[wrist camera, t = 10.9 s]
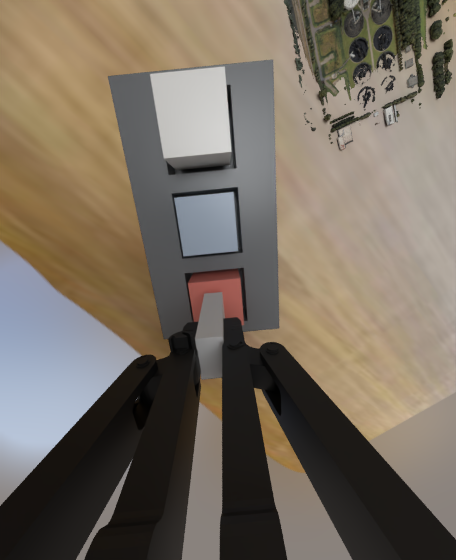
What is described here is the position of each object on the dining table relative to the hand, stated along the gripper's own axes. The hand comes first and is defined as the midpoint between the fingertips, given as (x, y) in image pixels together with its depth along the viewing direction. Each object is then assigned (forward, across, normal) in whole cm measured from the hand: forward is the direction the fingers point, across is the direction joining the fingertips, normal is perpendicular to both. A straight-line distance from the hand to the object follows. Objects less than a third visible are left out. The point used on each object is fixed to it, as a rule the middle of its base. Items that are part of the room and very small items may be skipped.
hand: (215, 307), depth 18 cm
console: (+8, 0, +7) cm, 10 cm away
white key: (+4, 0, +14) cm, 14 cm away
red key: (+5, 0, 0) cm, 5 cm away
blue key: (+5, 0, +7) cm, 9 cm away
